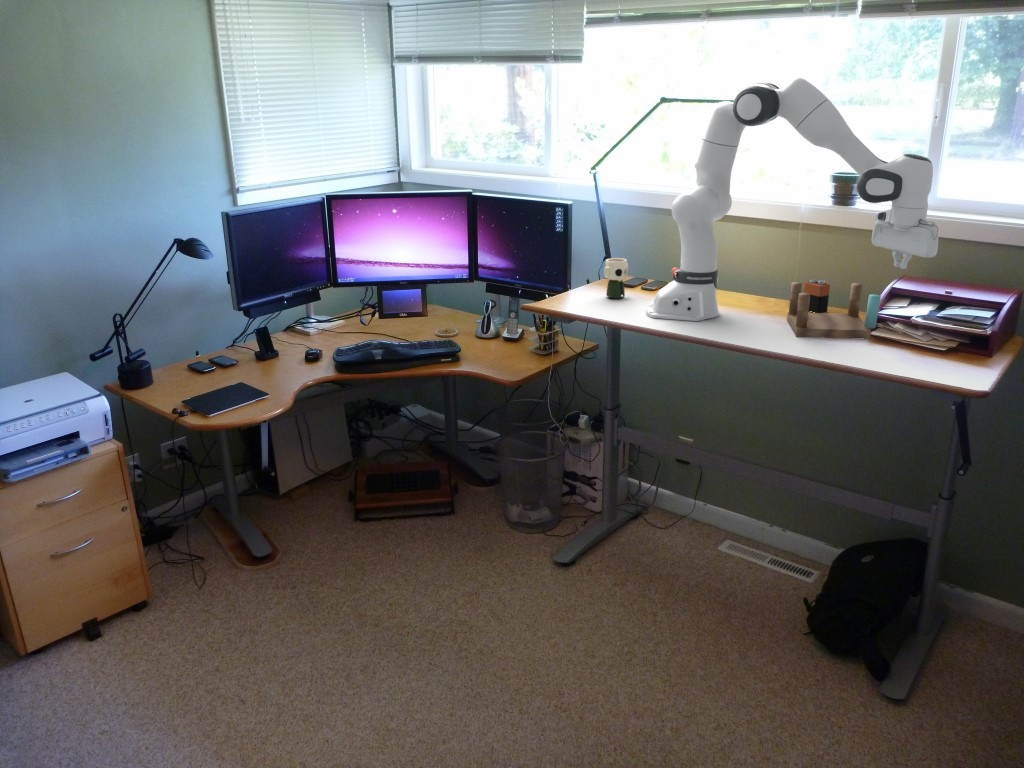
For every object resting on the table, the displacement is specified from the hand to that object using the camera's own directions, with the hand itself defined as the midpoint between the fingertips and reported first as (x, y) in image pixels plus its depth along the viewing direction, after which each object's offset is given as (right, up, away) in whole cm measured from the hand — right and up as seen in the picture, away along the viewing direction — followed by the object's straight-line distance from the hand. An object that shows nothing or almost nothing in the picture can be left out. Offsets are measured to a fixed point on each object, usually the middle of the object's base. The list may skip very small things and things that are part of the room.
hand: (899, 267), depth 230 cm
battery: (-11, -9, +35) cm, 38 cm away
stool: (-14, -16, +15) cm, 26 cm away
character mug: (-71, -3, +56) cm, 91 cm away
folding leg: (-6, -16, +6) cm, 18 cm away
